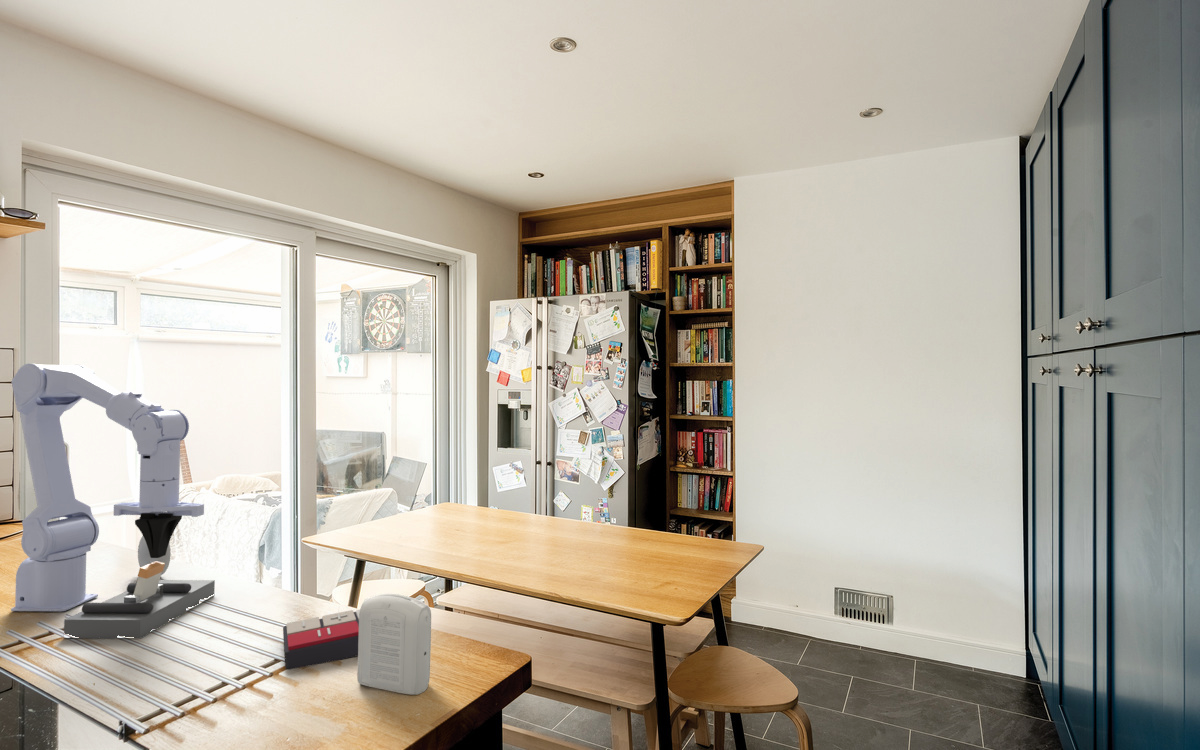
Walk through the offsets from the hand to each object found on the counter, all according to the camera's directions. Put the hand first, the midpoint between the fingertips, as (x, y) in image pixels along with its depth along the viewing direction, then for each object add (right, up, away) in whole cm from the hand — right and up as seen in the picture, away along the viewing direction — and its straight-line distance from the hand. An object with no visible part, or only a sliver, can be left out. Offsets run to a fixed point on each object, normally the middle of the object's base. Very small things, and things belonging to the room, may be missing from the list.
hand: (158, 556), depth 110 cm
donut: (-15, -11, +21) cm, 28 cm away
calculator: (+37, -11, -12) cm, 40 cm away
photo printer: (+50, -11, -24) cm, 56 cm away
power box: (-2, -10, 0) cm, 10 cm away
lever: (-1, -6, -2) cm, 7 cm away
